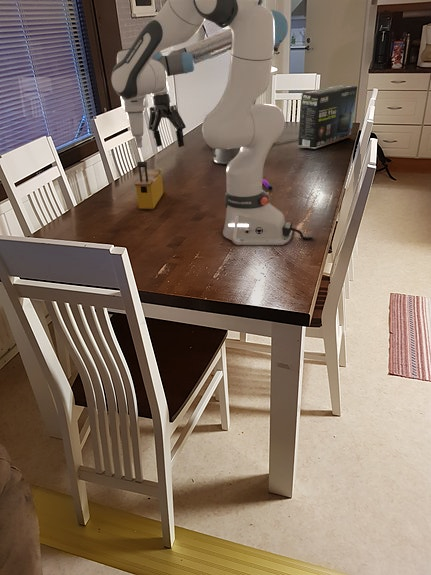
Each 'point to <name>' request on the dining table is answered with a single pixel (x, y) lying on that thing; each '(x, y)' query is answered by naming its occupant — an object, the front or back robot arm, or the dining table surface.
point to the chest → (150, 193)
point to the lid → (146, 175)
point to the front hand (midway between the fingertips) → (139, 144)
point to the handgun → (267, 184)
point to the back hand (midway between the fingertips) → (170, 146)
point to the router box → (326, 115)
